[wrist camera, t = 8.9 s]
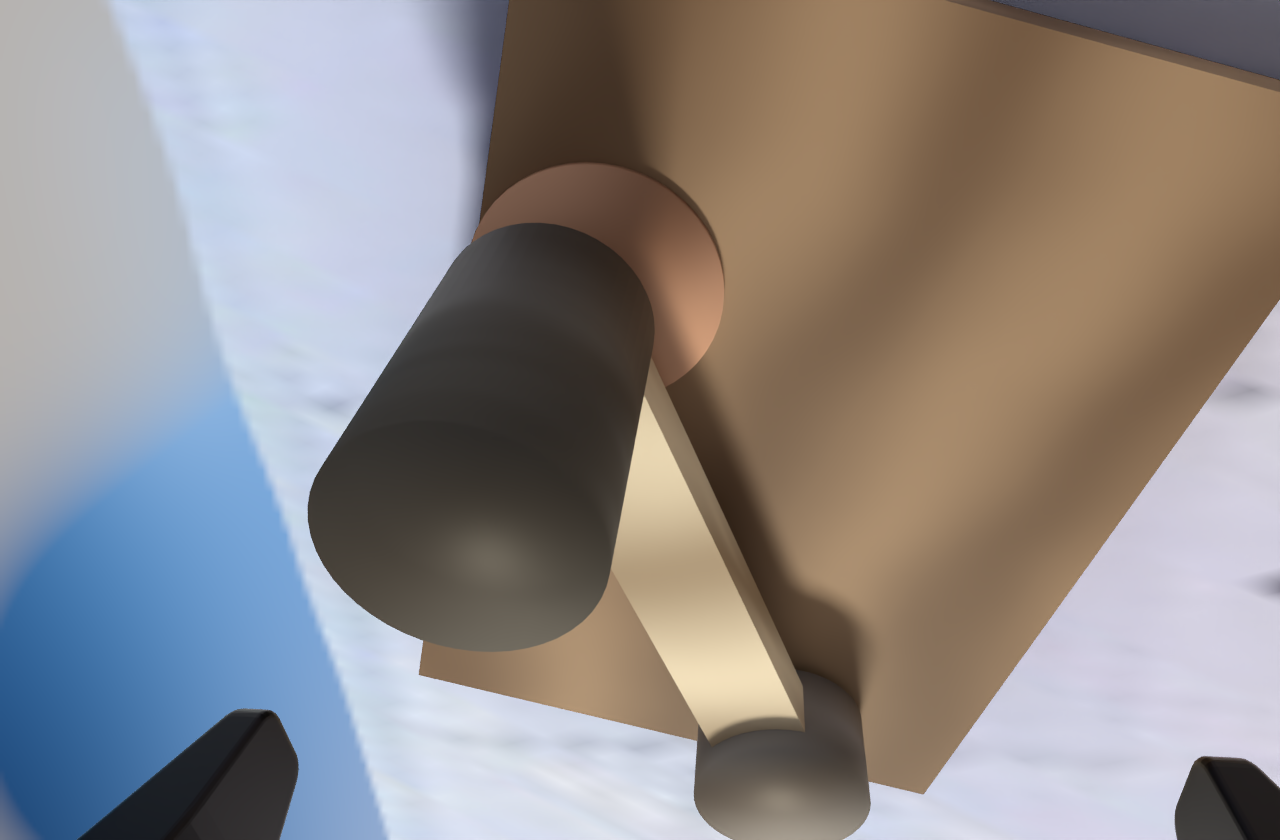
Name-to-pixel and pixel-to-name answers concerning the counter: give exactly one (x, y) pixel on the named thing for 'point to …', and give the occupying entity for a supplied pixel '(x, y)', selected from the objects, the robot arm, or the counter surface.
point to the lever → (576, 519)
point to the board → (891, 313)
